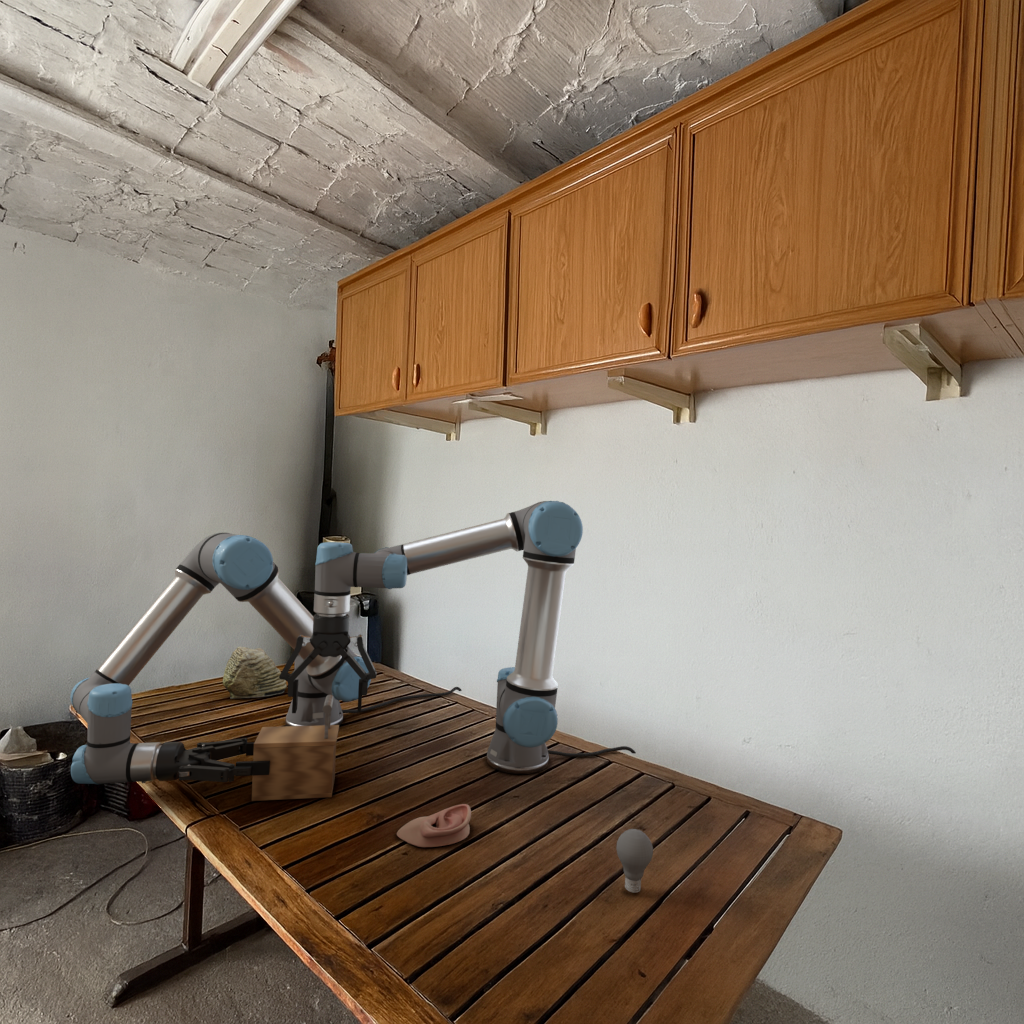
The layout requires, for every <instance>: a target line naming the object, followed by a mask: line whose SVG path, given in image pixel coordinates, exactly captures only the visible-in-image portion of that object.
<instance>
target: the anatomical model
mask: <svg viewBox="0 0 1024 1024" xmlns="http://www.w3.org/2000/svg"><path fill="white" fill-rule="evenodd" d="M471 819H472V809H471V806H470V805H469V804H468V803H462V804H461V803H460V804H456V805H452V806H450V807H447V808H445V809H442V810H439V811H437V812H436V813H433V814H431V815H428V816H426V815H425V816H420V817H417V818H414V819H412V820H410V821H408V822H407V823H405V824H404V825H402V826H401V827H400V828H399V829H398V830H397V832H396V836H397V837H398V838H399V839H401V840H402V841H403V842H406V843H408V844H409V845H413V846H415V847H419V848H435V847H442V846H443V847H444V846H448V845H449V846H450V845H453V844H456V843H458V842H461V841H463V840H465V839H466V838H468V836H469V835H470V832H471V831H470V830H471V829H470V828H471V827H470V824H469V823H470V821H471Z"/></svg>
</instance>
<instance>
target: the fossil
mask: <svg viewBox="0 0 1024 1024" xmlns="http://www.w3.org/2000/svg"><path fill="white" fill-rule="evenodd" d="M281 672H282V671H281V669H279V668H278V667H277V665H276V663H275V662H274V660H273V659H272V658H271V657H270V656H269V655H268V654H267V653H266V652H265V650H264V649H263V648H260V647H258V648H251V647H247V646H246V647H245V646H238V647H237V648H236V649H235V650H233V651H232V653H231V656H230V657H229V659H228V660H227V663H226V666H225V668H224V671H223V675H222V676H223V677H222V685H223V687H224V688H225V690H226V691H228V693H229V698H230V699H250V698H264V697H271V696H275V695H281V694H284V693H285V691H286V689H287V688H288V684H287V681H286V680H281V679H280V678H279V676H280V674H281Z"/></svg>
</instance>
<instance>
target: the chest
mask: <svg viewBox="0 0 1024 1024" xmlns="http://www.w3.org/2000/svg"><path fill="white" fill-rule="evenodd" d="M336 755H337V744H336V745H334V746H302V747H271V748H254V753H253V756H252V757H253V758H252V761H270V773H269V775H256V776H252V779H251V781H252V783H251V802H259V801H261V802H263V801H278V800H279V801H280V800H301V799H319V798H320V799H321V798H332V797H333V790H334V786H335V785H334V784H335V779H336V778H335V777H336V757H337V756H336Z"/></svg>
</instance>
